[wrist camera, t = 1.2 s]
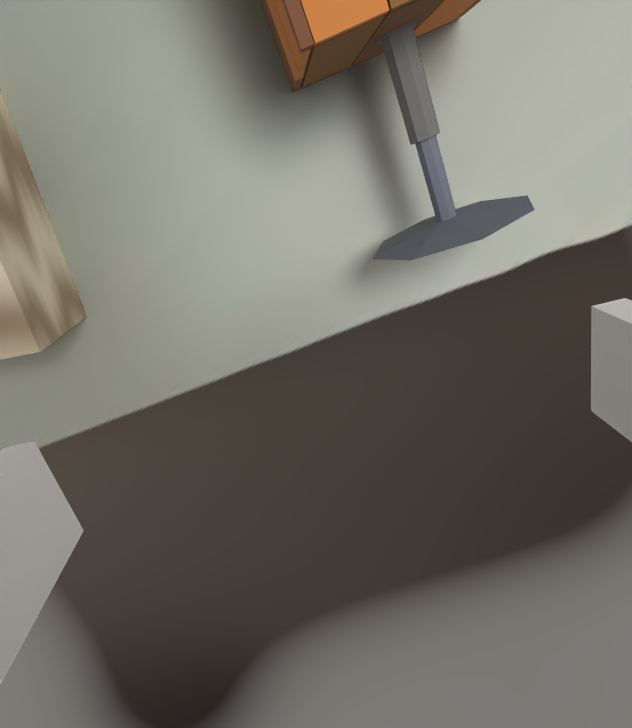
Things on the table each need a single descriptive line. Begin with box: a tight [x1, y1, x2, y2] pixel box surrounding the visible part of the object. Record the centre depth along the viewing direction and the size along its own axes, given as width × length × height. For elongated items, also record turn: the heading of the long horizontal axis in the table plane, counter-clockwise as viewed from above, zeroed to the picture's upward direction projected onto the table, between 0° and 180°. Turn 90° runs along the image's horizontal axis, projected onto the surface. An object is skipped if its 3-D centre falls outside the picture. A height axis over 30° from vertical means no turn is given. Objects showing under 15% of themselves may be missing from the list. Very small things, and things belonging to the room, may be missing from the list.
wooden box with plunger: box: [260, 0, 534, 260], centre depth 21 cm, size 11×20×14 cm, turn 22°
